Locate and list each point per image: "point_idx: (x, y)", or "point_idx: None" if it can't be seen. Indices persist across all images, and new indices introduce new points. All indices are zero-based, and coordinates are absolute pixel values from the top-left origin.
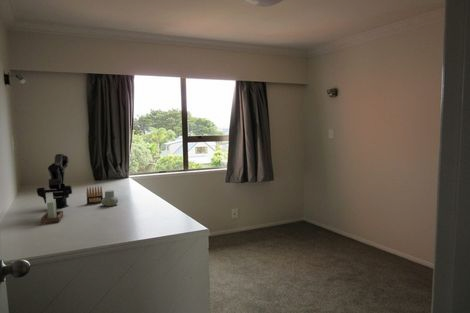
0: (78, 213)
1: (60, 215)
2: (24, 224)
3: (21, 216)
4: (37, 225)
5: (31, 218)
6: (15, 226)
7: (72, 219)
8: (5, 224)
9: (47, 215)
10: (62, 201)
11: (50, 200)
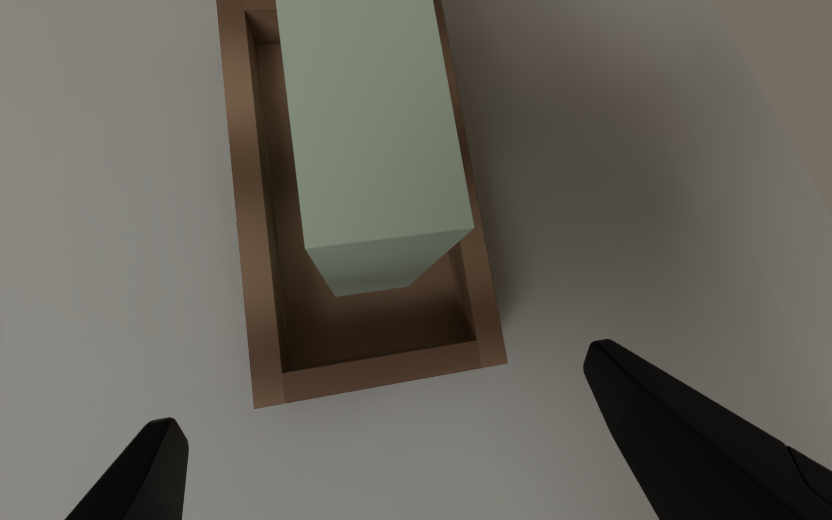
0: (46, 489)
1: (229, 120)
2: (604, 93)
3: None
4: (450, 4)
5: (651, 351)
6: (656, 48)
7: (90, 128)
8: (792, 160)
9: (460, 296)
10: (170, 429)
11: (424, 127)
